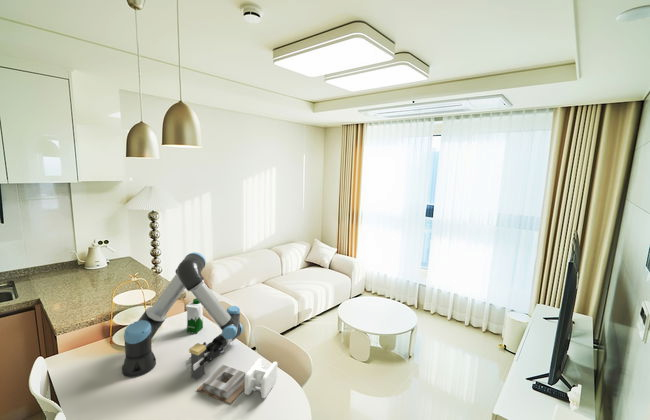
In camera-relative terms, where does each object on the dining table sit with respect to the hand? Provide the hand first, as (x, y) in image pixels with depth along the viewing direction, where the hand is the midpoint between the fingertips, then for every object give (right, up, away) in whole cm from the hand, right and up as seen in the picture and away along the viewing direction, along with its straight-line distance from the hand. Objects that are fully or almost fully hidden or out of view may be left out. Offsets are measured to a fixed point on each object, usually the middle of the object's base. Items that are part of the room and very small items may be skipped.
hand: (189, 366), depth 145 cm
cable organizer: (+35, -11, 0) cm, 37 cm away
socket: (+17, -10, 0) cm, 20 cm away
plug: (+1, -8, +6) cm, 10 cm away
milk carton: (-18, -1, +47) cm, 50 cm away
